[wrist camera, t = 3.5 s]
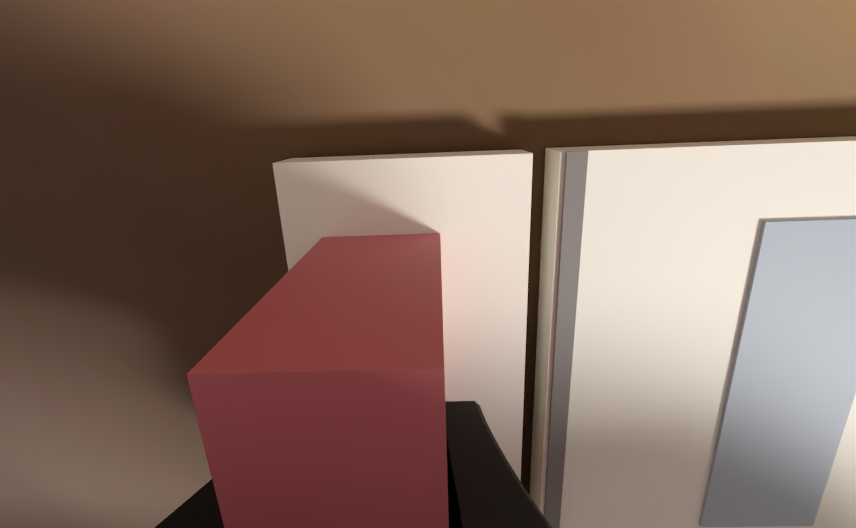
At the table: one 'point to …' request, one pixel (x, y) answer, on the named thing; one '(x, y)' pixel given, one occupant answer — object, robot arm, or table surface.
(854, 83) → the table surface
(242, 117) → the table surface
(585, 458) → the white flat slab
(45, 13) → the table surface
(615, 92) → the table surface
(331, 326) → the stub
